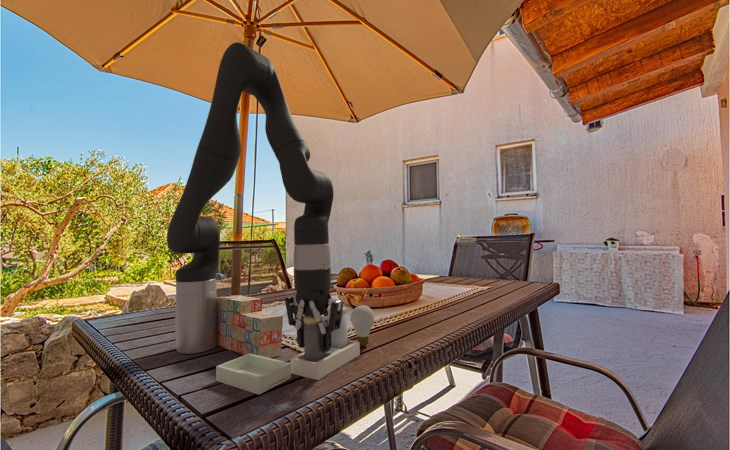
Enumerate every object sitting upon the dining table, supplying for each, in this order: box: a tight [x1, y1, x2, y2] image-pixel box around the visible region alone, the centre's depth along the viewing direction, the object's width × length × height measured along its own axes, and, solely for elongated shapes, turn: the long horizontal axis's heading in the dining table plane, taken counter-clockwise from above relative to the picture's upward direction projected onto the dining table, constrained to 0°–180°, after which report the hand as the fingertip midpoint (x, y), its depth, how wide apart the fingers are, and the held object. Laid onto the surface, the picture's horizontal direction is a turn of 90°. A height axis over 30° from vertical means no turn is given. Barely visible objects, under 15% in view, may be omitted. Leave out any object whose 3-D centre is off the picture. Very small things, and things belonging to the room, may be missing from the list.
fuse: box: [329, 306, 349, 349], centre depth 77 cm, size 4×4×11 cm
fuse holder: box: [290, 339, 361, 381], centre depth 73 cm, size 7×15×3 cm, turn 149°
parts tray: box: [215, 353, 292, 395], centre depth 66 cm, size 12×8×3 cm, turn 58°
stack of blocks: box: [217, 294, 284, 359], centre depth 84 cm, size 21×6×12 cm, turn 49°
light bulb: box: [350, 305, 375, 348], centre depth 84 cm, size 6×6×10 cm
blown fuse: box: [303, 314, 324, 362], centre depth 70 cm, size 4×4×11 cm
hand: (314, 348), depth 70 cm, fingers open, 5 cm apart
